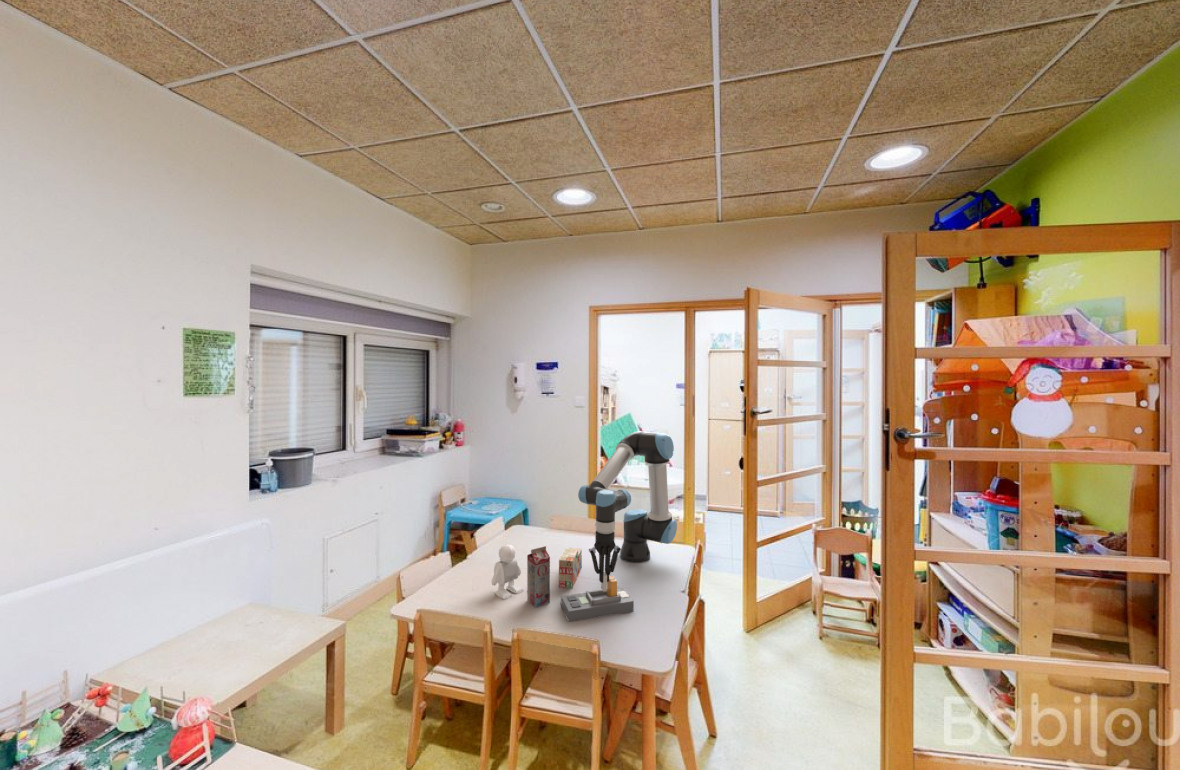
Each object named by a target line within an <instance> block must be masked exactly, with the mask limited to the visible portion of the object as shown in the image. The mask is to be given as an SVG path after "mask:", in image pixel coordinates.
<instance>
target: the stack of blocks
mask: <svg viewBox="0 0 1180 770" xmlns="http://www.w3.org/2000/svg"><path fill="white" fill-rule="evenodd" d="M582 557H583V555H582V548H578V547H569V548H564V550H563V552H562V554H561V556H560V557H559V560H558V588H562V589H564V588H565V589H573V588H574V586H575V584H576V583H577V580H578V577H579V574H580V573H581V570H582V565H583V564H582V563H583V559H582Z"/></svg>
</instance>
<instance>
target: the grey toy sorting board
mask: <svg viewBox="0 0 1180 770" xmlns="http://www.w3.org/2000/svg"><path fill="white" fill-rule="evenodd" d="M560 597H561V598H560V601H561V603H560V605H561V608H562V610H563V612H564V615H565V617H566V619H567V621H568V623H571V622H576V621H582V620H588V619H595V618H600V617H606V616H613V615H614V616H615V615H618V614H626V613H631V612H634V607H635V605H634V602H635V601H634V600H633V598H632V597H631V596H630V595H629V594H628V592H627V591H626V590H625V588H624V587H617V596H611V597H609V596H608V594H607V591H605V592H603V590H602V589H601V588H600V589H592V590H586V591H585V592H579V593H573V594H566V595H561V596H560Z"/></svg>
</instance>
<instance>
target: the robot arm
mask: <svg viewBox="0 0 1180 770" xmlns="http://www.w3.org/2000/svg"><path fill="white" fill-rule="evenodd" d="M674 449H675V448H674V442H673V439H672V436H671V435H669V434H667V433H662V432H656V431H655V432H652V431H651V432H650V431H642V430H640V431H639V430H638V431H634V432H632V433H630V434H628V435H626V436H625V437H624V438H622V439H621V440H620V442H619V443H617V445H616V447H615V451H614V452H613V454H612V455H611V456H610V458H609V459H608V460H607V462H606V463H605V464H604V465H603V467H602V468H601V470H600V471H599V472H598V474H596V476H595V478H594V479H593V480H592V482H590V484H589V485H588V484H585V485H582V486H581V487H580V488H579V490H578V494H577V496H578V500H579V501H580V502H581V503H583V504H585V505H591V506H595V542H594V545H593V546H592V547H591V548H589V549H588V552H589V553H590V556H591V559H592V560H591V561H592V563H593V564H592V565H593V569H594V571H595V573H596V574H597V575H598V580H599V582H600V584H601V588H600V589H602V590H603V592H605V591H607V582H609V576H611V573H614V572H615V568H616V565H617V560H618V557H620V558H621V560H623V561H625V562H629V563H637V564H639V563H645V562H647V561H649V560H650V559H651V550H650V548H649V547H650V546H649V545H648V541H652V542H657V543H660V544H665V545H669V544H671V543H672V542H673V541H674V539H675V537H676V535H677V530H678V522H677V520H675V519H673V514H672V513H671V512H670V510H669V494H668V493H669V492H668V491H669V489H668V471H667V464H669V462H670V460H671V459H672V458H673V456H674ZM635 456H636V457H637V456H641V457H644V463H646V465H648V466H647V467H648V469H647V470H648V486H649V502H650V507H649V508H650V512H648V511H647V510H646V509H642V508H641V509H640V508H639V509H631V510H628V511H626V512H625V513H624V515H623V541H622V542H623V543H622V545H621V547H620V546H619V545H616V542H615V534H616V533H615V529H616V528H615V527H616V520H615V519H616V513H617V512H619V511H621V510H623V509H626V508H627V507H629V505H631V503H632V495H631V494H630V492H629V491H628V490H626V489H618V490H614V489H610V487H611V486H612V484H613V483H614V481H616V479H617V477H618V476H619V474H620V473H621V471H622V470H623V469H624V468H625V466H626V465H627V464H628V463H629V461H631V460H633V459H634V458H635ZM596 552H597V553H598V558H599V559H598V560H597V555H596ZM611 553H612V554H611Z"/></svg>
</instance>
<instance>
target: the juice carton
mask: <svg viewBox="0 0 1180 770" xmlns="http://www.w3.org/2000/svg"><path fill="white" fill-rule="evenodd" d="M526 561H527V562H526V564H527V565H526V566H527V567H526V569H527V570H526V571H527V575H526V576H527V578H526V582H527V585H526V592H527V593H526V594H527V595H526V597H527V598H526V601H527V602H528V603H530V605H531V606H533V607H534V608H537V607H540V606H543V605H547V604H549V603H550V602H551V599H550V597H551V592H550V591H551V584H550V583H551V582H550V581H551V569H550V568H551V556H550V554H549V553H548V551H547V545H546V546H544V545H543V546H541V547H537V548H534V549H531V550H530V553H528V554H527V557H526Z"/></svg>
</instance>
